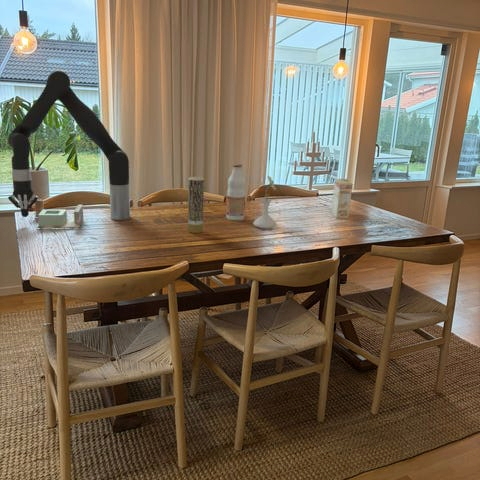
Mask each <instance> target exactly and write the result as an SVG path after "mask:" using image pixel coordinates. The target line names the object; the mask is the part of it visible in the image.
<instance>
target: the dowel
mask: <svg viewBox="0 0 480 480" xmlns="http://www.w3.org/2000/svg"><path fill="white" fill-rule="evenodd" d="M44 203H45V202H44V199H39V198H38V200H37V201H36V202H35V203H34V213H35V218H36V217H38V214H39V213H40V212H41V211H42V210H43V209H45V205H44Z"/></svg>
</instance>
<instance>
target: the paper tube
mask: <svg viewBox="0 0 480 480" xmlns="http://www.w3.org/2000/svg"><path fill="white" fill-rule="evenodd" d="M204 186H205V177H202V176H189V177H188V204H187V205H188V206H187V207H188V209H187V212H188V213H187V214H188V215H187V218H188V219H187V231H188V232H189V233H190V234H191V233H192V234H199V233H200V232H201V233H203V231H204V199H205V198H204V194H205V187H204Z"/></svg>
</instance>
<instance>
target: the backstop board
mask: <svg viewBox="0 0 480 480" xmlns="http://www.w3.org/2000/svg"><path fill="white" fill-rule="evenodd" d="M83 205H84V204H77V206H76V208H75V209H74V211H73V218H67V221H66V222H65V224H64V225H63V226H39V224H38V225H37V226H36V229H37V228H78V229H77V230H80V229H81V227H82V226H83V223H84V206H83Z"/></svg>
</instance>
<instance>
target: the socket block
mask: <svg viewBox="0 0 480 480" xmlns="http://www.w3.org/2000/svg"><path fill="white" fill-rule="evenodd" d="M67 213H68V212H67V209H59V208H58V209H45V208H44V209H43V210H42V211H41V212H40V213H39V214H38V218H37V219H38V220H37V221H38V225H39V226H63V225H64V224H65V222H66V221H67V219H68V215H67Z"/></svg>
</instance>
